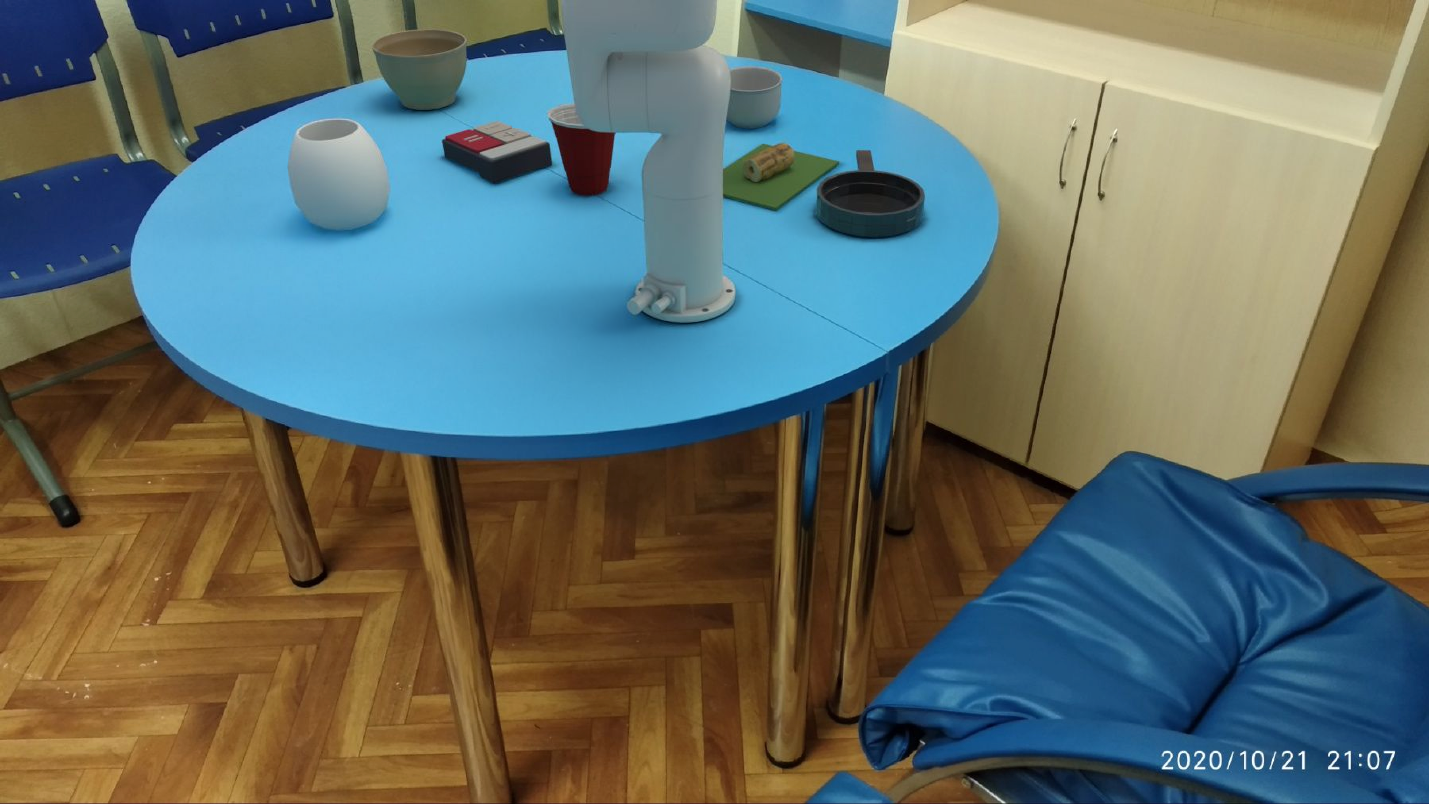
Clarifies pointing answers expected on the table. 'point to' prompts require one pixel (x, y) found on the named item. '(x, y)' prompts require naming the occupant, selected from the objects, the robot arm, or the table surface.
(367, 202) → the white vase
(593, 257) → the table surface
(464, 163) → the calculator
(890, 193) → the pan
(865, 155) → the pan handle
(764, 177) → the carved stone cylinder
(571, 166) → the plastic cup
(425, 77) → the planter bowl
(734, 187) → the green mat
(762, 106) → the teacup
